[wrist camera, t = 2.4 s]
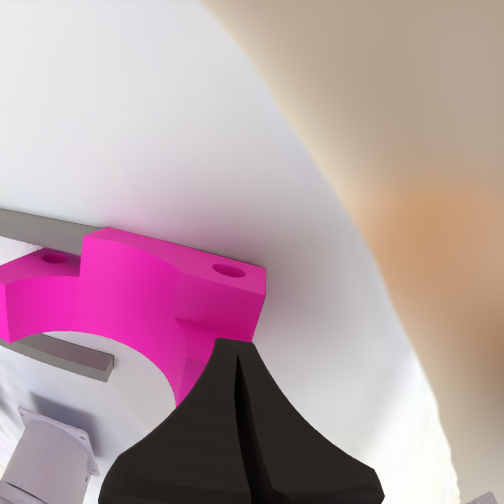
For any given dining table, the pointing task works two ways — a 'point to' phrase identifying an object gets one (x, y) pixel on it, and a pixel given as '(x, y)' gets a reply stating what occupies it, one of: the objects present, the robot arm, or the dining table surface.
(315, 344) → the dining table surface
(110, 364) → the channel
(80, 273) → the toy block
